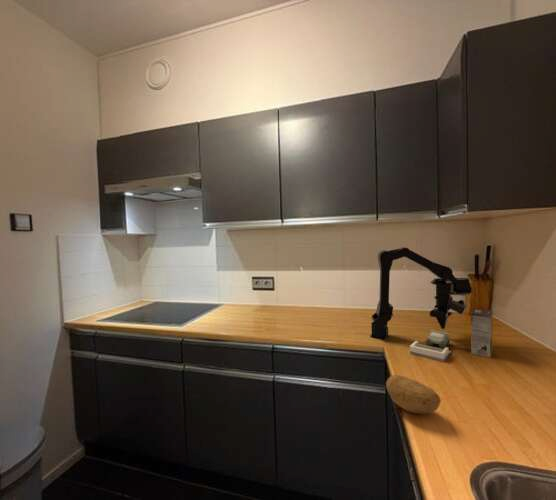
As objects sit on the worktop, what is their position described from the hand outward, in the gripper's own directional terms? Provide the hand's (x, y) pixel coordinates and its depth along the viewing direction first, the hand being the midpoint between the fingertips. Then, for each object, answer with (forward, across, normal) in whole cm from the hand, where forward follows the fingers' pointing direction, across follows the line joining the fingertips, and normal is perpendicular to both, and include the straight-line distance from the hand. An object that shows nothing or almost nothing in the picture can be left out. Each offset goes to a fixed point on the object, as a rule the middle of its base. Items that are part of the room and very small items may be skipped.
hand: (443, 328), depth 129 cm
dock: (+4, -19, 0) cm, 20 cm away
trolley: (+4, -9, 0) cm, 10 cm away
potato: (+5, -62, -7) cm, 62 cm away
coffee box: (+5, -7, -15) cm, 17 cm away
